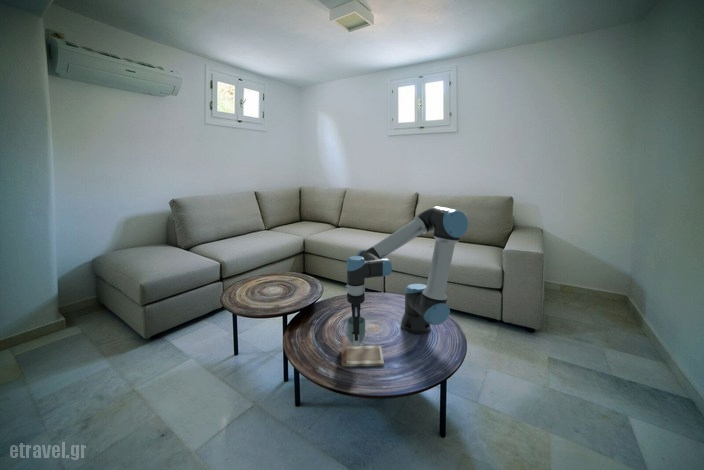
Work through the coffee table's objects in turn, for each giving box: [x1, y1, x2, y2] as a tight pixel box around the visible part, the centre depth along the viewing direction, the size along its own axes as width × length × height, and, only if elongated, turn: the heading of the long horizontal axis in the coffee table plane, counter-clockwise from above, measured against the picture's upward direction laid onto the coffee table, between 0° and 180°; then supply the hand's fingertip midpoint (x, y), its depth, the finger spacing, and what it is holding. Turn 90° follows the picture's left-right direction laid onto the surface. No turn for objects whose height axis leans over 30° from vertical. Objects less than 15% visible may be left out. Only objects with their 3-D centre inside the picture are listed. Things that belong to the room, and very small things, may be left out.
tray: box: [341, 335, 385, 367], centre depth 135 cm, size 18×13×6 cm
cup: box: [346, 316, 366, 344], centre depth 132 cm, size 8×8×10 cm
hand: (356, 340), depth 133 cm, fingers closed on cup, 8 cm apart
